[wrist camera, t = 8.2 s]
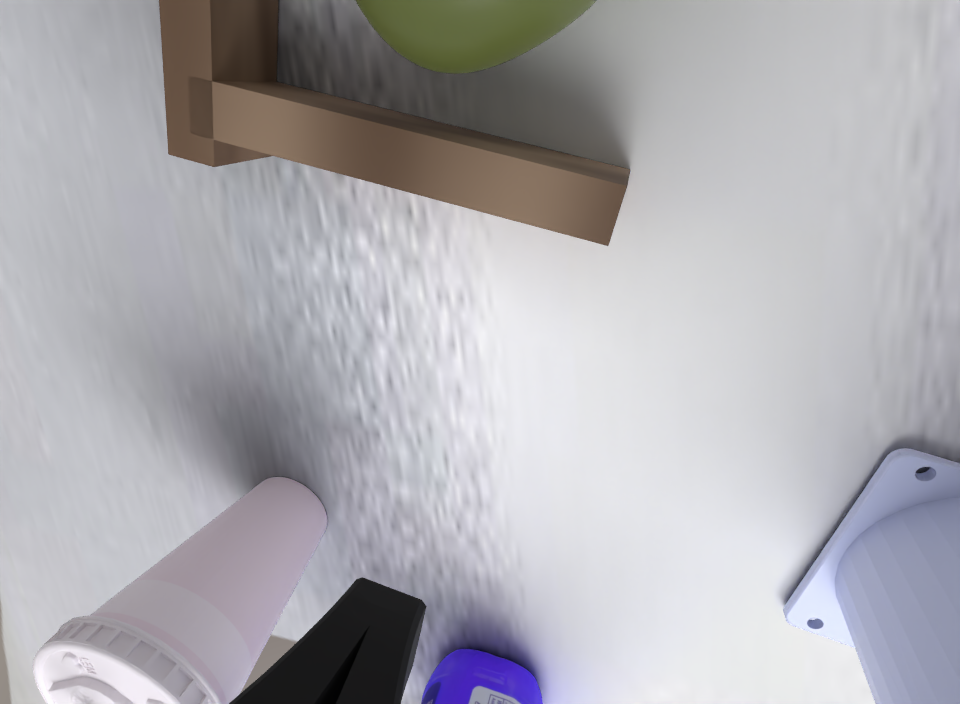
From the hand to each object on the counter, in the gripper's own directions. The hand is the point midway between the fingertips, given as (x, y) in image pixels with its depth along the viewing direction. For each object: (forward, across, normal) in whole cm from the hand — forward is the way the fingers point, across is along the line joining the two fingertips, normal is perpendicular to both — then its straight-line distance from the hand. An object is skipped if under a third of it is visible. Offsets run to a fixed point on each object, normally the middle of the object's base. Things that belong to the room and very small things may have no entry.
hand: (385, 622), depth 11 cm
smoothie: (+11, +8, +10) cm, 17 cm away
